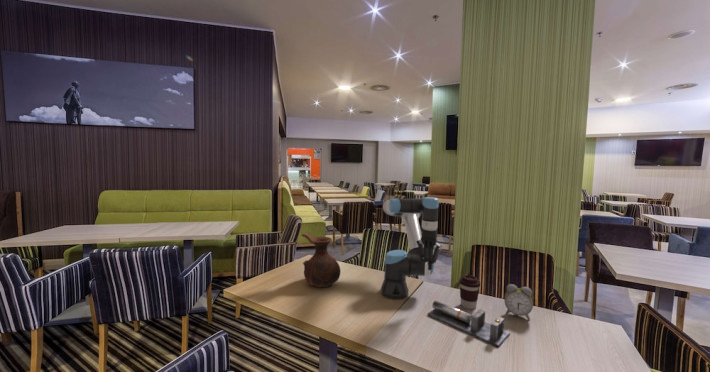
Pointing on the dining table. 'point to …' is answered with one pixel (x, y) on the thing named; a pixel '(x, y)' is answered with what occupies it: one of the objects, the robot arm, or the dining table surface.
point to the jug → (321, 264)
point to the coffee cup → (469, 291)
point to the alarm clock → (518, 300)
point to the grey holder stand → (476, 326)
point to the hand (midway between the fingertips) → (427, 275)
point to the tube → (452, 311)
